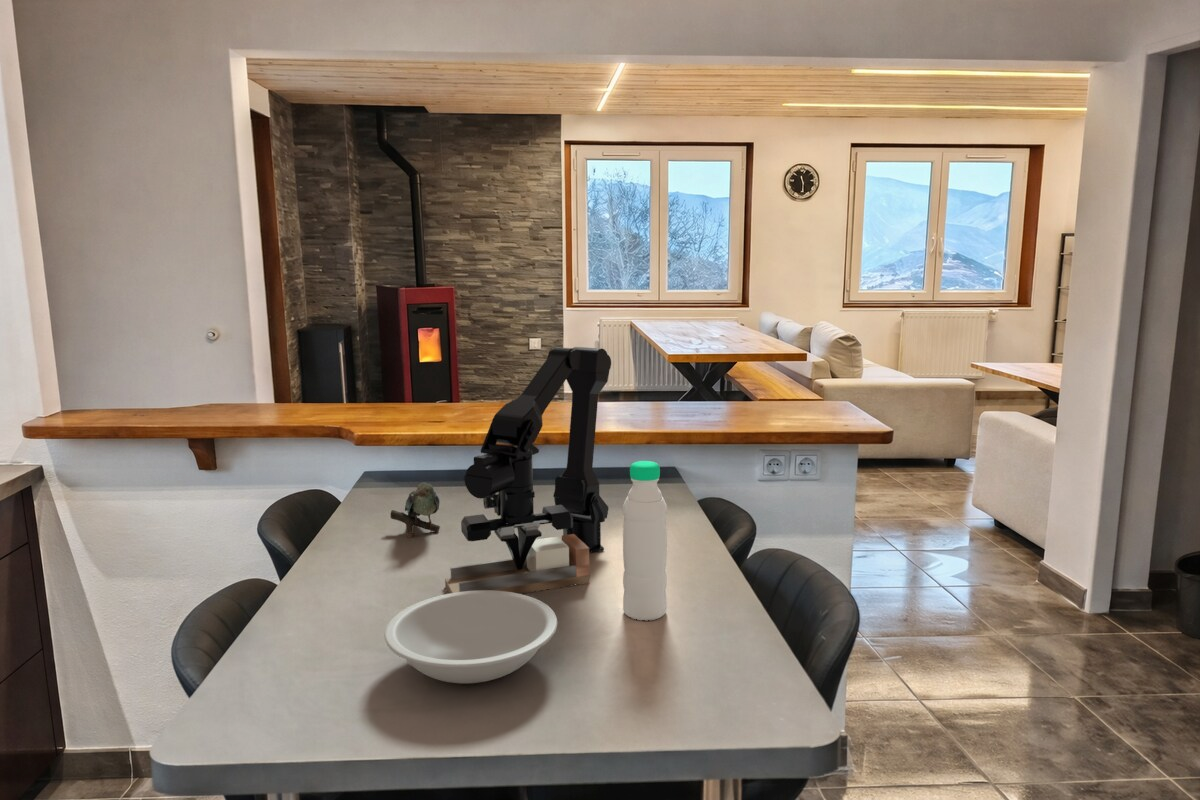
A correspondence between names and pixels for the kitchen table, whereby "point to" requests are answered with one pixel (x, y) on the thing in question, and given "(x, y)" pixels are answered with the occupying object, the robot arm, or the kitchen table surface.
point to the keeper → (548, 554)
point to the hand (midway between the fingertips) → (518, 569)
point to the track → (522, 573)
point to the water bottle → (644, 545)
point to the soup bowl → (471, 634)
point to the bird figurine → (419, 509)
